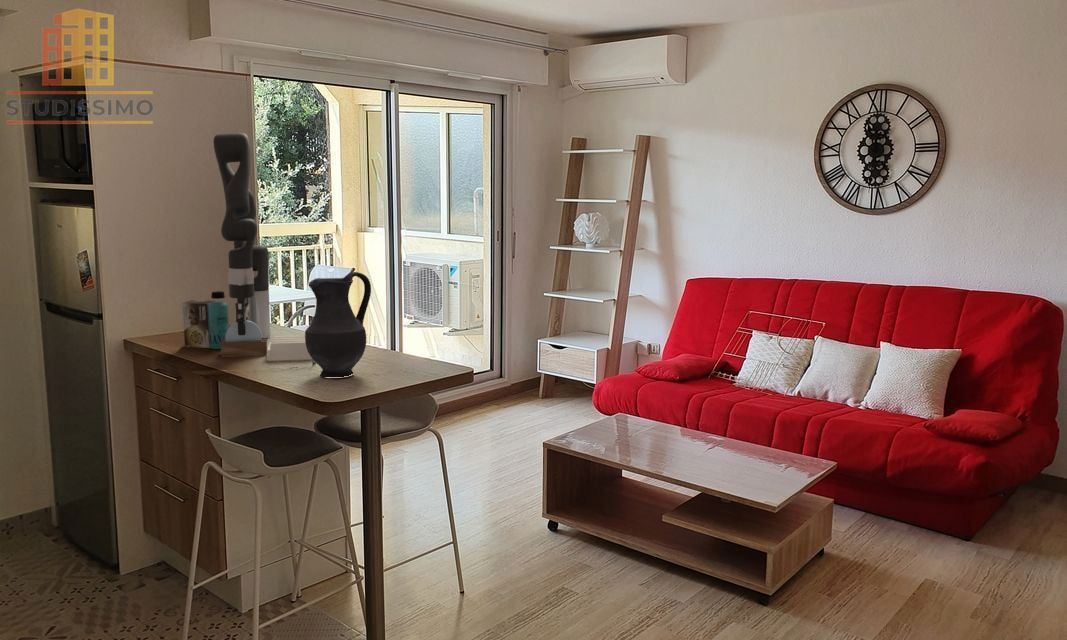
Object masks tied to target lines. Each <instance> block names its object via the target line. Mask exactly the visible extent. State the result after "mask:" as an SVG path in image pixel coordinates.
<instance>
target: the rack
mask: <svg viewBox="0 0 1067 640" xmlns="http://www.w3.org/2000/svg"><path fill="white" fill-rule="evenodd" d="M266 359H267V360H266V362H274V361H275V362H277V361H305V360H307V361H308V360H312V364H317V363H316V362H315V361H314V360H313V359H312V358H311V356H310V355H309V353H308V351H307V348H306V343H305V335H288V336H287V335H284V336H282V335H281V336H272V338H271V341H270V342H269V344H268V345H267V355H266Z"/></svg>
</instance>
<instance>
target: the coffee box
mask: <svg viewBox="0 0 1067 640" xmlns="http://www.w3.org/2000/svg"><path fill="white" fill-rule="evenodd" d="M214 301H215V300H200V299H199V300H197V299H194V300H193V299H191V300H186V301H184V302H182V303H181V305H182V306H181V308H182V320H183V321H182V322H183V335H184V337H183V338H184V347H185V348H209V349H211V348H210V346H209V345H210V344H209V343H210V340H209V308H208V305H209V304H210V303H211V302H214Z"/></svg>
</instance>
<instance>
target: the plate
mask: <svg viewBox="0 0 1067 640" xmlns="http://www.w3.org/2000/svg"><path fill="white" fill-rule="evenodd" d="M229 326H230V327H229V328H228V330H227V332H226V336H225V339H226V342H241V341H262V332H261V330H260V328H259V327H258V326H257V325H256V324H255V323H254V322H252V321H249V320H246V322H245V329H246V334H245V335H238V323H237V322H236V321H234V322H232V324H231V325H230V324H229Z"/></svg>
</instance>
